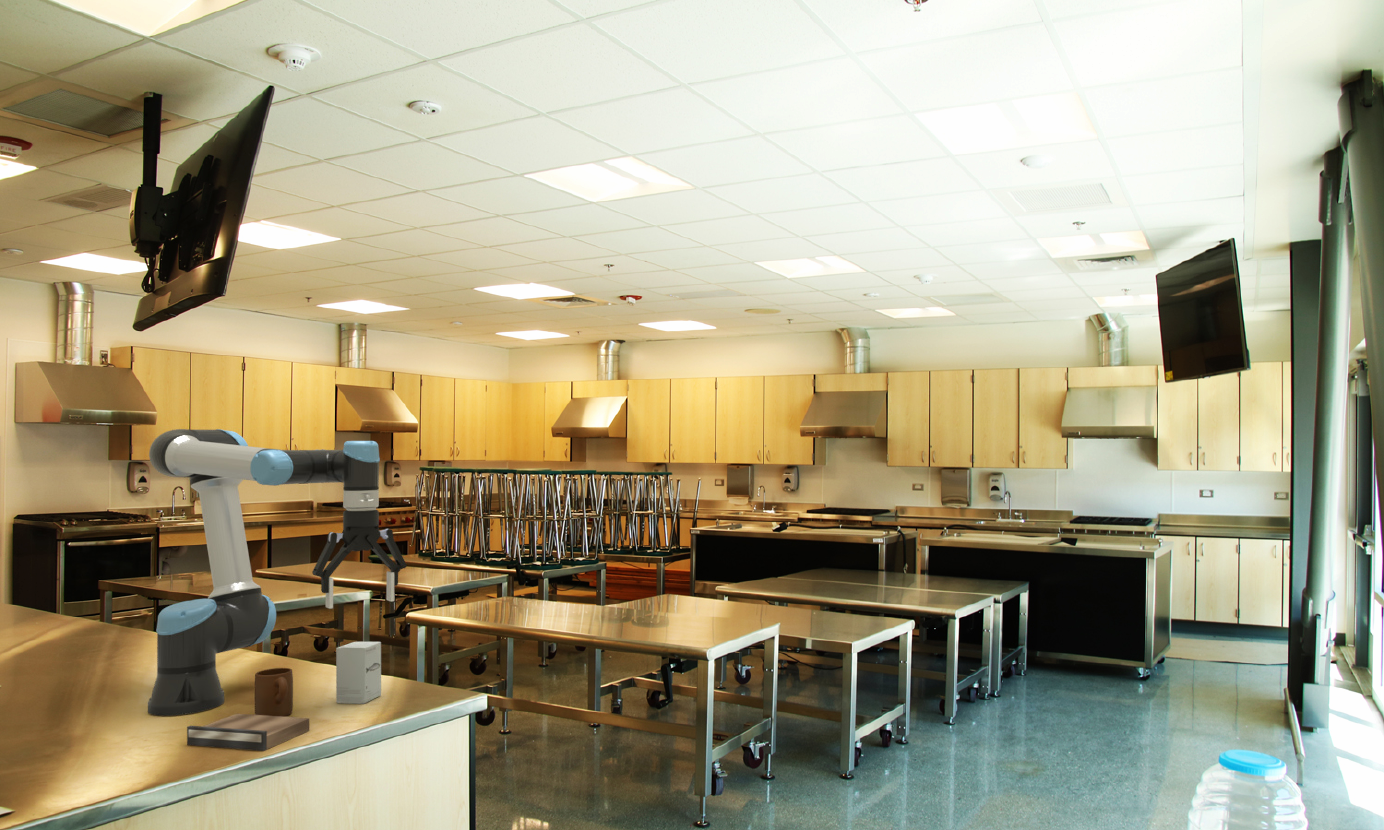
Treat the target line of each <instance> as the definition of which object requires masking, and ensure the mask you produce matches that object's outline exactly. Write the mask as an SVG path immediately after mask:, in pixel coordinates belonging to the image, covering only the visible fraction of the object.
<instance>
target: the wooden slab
mask: <svg viewBox="0 0 1384 830" xmlns="http://www.w3.org/2000/svg"><path fill="white" fill-rule="evenodd" d="M310 727H311V726H310V718H309V717H296V716H295V717H293V716H285V717H282V716H266V715H255V714H250V713H249V714H247V713H235V714H233V715H229V716H227V717H224V718H221V719H218V720H216V721H213V722H210V723H208V724H205V725H202V726H200V725H189V726H187V727H186V745H187V746H197V747H208V748H209V747H210V748H219V749H221V748H223V749H233V750H234V749H235V750H246V751H261V752H264V751H267V750H269V749H271V748H273V747H276V746H278V745H280V744H282V743H283V744H284V743H285V742H288V741H289V740H292V739H294V738H297V737H298V736H301V735H303V734H306V733H307V732H310V731H311V729H310Z"/></svg>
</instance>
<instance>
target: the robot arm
mask: <svg viewBox="0 0 1384 830" xmlns="http://www.w3.org/2000/svg"><path fill="white" fill-rule="evenodd" d="M379 450H380V449H379V444H378V443H377V441H374V440H347V441H345V442H344V444H343V449H298V450H297V449H278V448H266V447H259V446H258V447H257V446H249V444H248V442H247V441H246V440H245V438H244V437H243V436H241V435H240V434H239V433H238V432H237V431H236V432H235V431H232V430H226V429H225V430H224V429H221V428H220V429H219V428H217V429H187V428H185V429H184V428H177V429H172V430H168V431H165V432H163V433H161V434H160V435H158V436H157V437H156V438H154V440H153V441H152V442H151V445H150V448H149V454H148V457H149V461H150V464H151V466H152V467H153V468H154V469H155V470H156V471H157V472H158V473H159V474H162V475H164V476H166V477H173V478H189V484H190V488H191V489H193V490H194V491H196V492H197V493H198V496H199V502H200V509H201V515H202V521H203V528H204V534H205V535H204V536H205V540H206V542H205V543H206V548H207V553H208V561H209V566H210V567H209V568H210V574H211V579H212V586H213V589H212V591H211V593H210V594H209V595H208V596H207V598H199V599H198V598H197V599H192V600H185V601H181V602H177V603H174V604H170V605H169V606H166V607H165V608H163V609H162V610H161V611H160V612H159V613H158V615H157V624H156V634H157V635H156V636H157V638H156V639H157V640H156V641H157V642H156V645H157V646H156V648H157V649H156V653H157V654H156V657H157V658H156V661H157V662H156V664H157V665H156V671H157V672H156V678H155V682H154V685H153V687H152V693H151V695H150V696H151V697H150V698H149V699H148V701H147V713H148V714H149V715H153V716H158V717H159V716H161V717H166V716H170V717H171V716H181V715H189V714H194V713H201V712H203V711H208V710H211V709H215V708H217V707H219V706H222V705H223V704H224V703H225V691H224V688H222V685H221V681H220V678H219V675H218V672H217V667H216V666H217V665H216V664H217V663H216V660H217V659H216V657H217V656H216V655H218V654H220V653H221V654H222V653H225V652H230V651H234V650H239V649H242V648H243V649H244V648H249V647H252V646H253V645H257V644H260V643H262V642H263V641H266V639H268V637H270V635H271V633H272V631H273V630H274V628H275V625H276V621H277V609H276V606H275V603H274V602H273V601H272V600H271V599H272V598H270V597H269V596H267V595H264V594H263V592H262V587H261V585H259V584H258V583H256V582H254V580H253V574H252V566H251V562H250V556H249V555H250V554H249V549H248V544H247V542H248V541H247V536H246V530H245V523H244V517H243V511H242V505H241V500H240V493H239V485H240V484H241V483H242V482H243V480H244V481H245V480H246V481H252V482H256V483H258V484H259V485H262V486H280V485H281V486H282V485H296V484H297V485H300V484H325V483H328V484H329V483H335V484H336V483H342V484H343V495H342V496H343V498H342V501H343V503H342V504H343V505H342V507H343V508H344V509H345V510H344V511H343V514H342V515H343V516H342V519H343V521H342V532H339V533H338V532H332V531H330V532H329V533H328V534H327V541H326V544H325V546H324V548H323V550H322V551H321V554H320V556H319V557H318V560H317V562H316V563H315V565H314V567H313V570H312V574H311V575H314V577H315V576H316V577H319V578H320V579H321V580H320V581H321V582H320V583H321V585H320V589H321V590H320V591H321V593H322V594H325V608H327V609H329V610H330V609H334V578H333V577H331V576H332V574H333V573H334V572H335V571H336V569H337V568H339V566H340V564H341V563H343V561H344V559H345V558H346V557H347V556H348V555H349V554H350V553H351V552H361V551H365V552H367V551H368V552H369V551H370V550H371V551H373V553H374V554H375V555H376V556H377V557H378V558H379V559H380V560H381V561H382V563H384V564H385V566H386V567H387V568H388V569H389V571H386V601H388V602H395V587H397V586H398V584H399V572H400V571H401V570H402V569H407V566H408V565H407V563H406V561H405V559H404V556H403V555H402V553H401V551H400V549H399V547H398V545H397V543H396V540H395V539H394V531H393V529H390V528H384V529H382V530H380V529H379V523H380V519H379V517H380V515H379V514H380V512H379V510H378V509H377V508H378V507H380V506H379V504H380V502H379V499H380V498H379V497H380V495H379V494H380V490H379V488H380V487H379V485H380V481H379V477H380V476H379V475H380V473H379V472H380V461H381V460H380V459H381V457H380V451H379ZM380 537H381V538H382V539H383V540H384V541H385V544H386V546H387V547H388V549H389V551H390V553H391V555H392V557H393V559H394V561H395V562H394V561H393V560H392V558H391V557H390V556H389V555H388V554H387V553H386V552H385V550H384V549H383V548H382V545H381V546H380V544H379V543H378V540H379V539H380ZM340 540H342V541H343V542H344V543H343V545H342V546H341V547H340V549H339V551H338V552H337V553H336V554H335V556H334V557H333V558H332V559H331V561H329V560H330V557H331V556H332V554H333V551H334V550H335V547H336V545H337V543H339V542H340ZM328 561H329V563H328Z"/></svg>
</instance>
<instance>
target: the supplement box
mask: <svg viewBox="0 0 1384 830" xmlns="http://www.w3.org/2000/svg"><path fill="white" fill-rule="evenodd" d="M335 649H336V651H335V653H336V655H335V656H336V657H335V659H336V660H335V661H336V665H335V666H336V668H335V669H336V670H335V673H336V674H335V677H336V679H335V681H336V683H335V684H336V688H335V689H336V691H335V692H336V693H335V694H336V695H335V697H336V698H335V699H336V704H349V705H350V704H353V705H354V704H355V705H357V704H359V705H365V704H367V703H368V702H370V701H373V700H374V699H376V698H378V697H381V696H382V642H381V641H353V642H352V641H351V642H350V643H348V644H345V645H341V646H339V647H336V648H335Z"/></svg>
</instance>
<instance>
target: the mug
mask: <svg viewBox="0 0 1384 830" xmlns="http://www.w3.org/2000/svg"><path fill="white" fill-rule="evenodd" d="M293 709H294V676H293V669H291V668H289V667H274V668H268V669H262V670H259V671H257V672H256V673H255V675H254V715H266V716H282V717H289V715H291V714H292V712H293Z"/></svg>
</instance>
